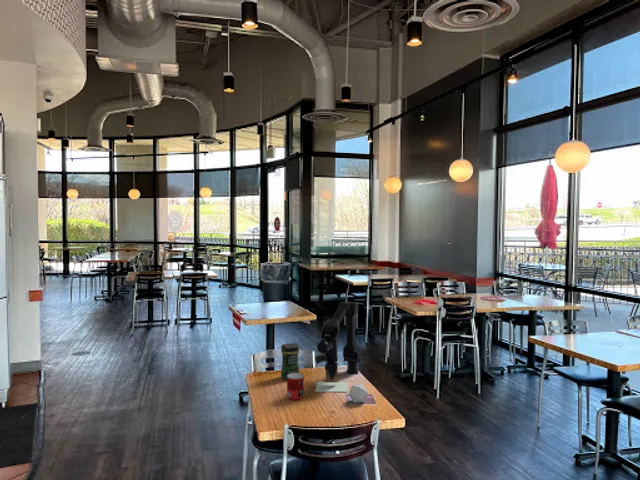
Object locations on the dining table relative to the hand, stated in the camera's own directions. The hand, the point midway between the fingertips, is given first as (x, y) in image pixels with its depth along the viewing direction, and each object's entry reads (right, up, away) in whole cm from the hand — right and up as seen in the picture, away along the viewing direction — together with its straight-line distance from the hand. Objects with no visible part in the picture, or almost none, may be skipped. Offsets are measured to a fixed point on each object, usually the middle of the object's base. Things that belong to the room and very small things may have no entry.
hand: (331, 378), depth 241 cm
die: (+12, -5, -21) cm, 25 cm away
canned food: (-18, -5, -15) cm, 24 cm away
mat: (0, -4, -1) cm, 4 cm away
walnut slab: (0, -2, 0) cm, 2 cm away
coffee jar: (-22, -4, +15) cm, 27 cm away
